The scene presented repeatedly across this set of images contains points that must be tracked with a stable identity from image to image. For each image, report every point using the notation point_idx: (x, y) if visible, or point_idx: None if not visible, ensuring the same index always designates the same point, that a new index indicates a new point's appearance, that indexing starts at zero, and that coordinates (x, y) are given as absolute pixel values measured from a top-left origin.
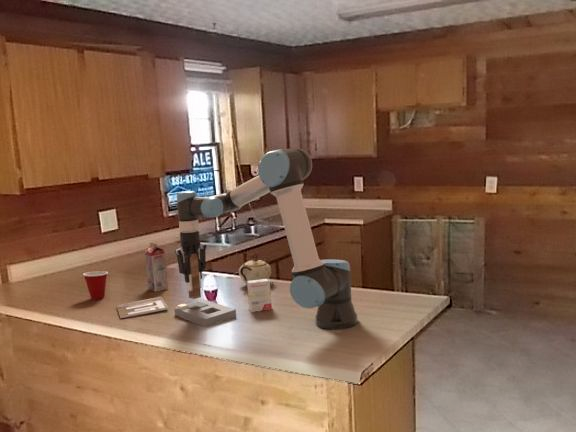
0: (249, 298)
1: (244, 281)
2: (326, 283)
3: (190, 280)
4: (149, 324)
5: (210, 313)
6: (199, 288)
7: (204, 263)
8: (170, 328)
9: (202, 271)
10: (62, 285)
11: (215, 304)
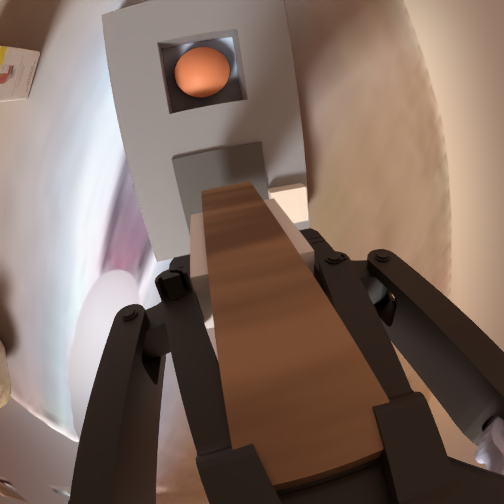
0: (8, 58)
1: (1, 354)
2: None
3: (292, 226)
4: (398, 185)
5: (192, 93)
6: (208, 207)
7: (118, 349)
8: (375, 88)
9: (166, 271)
10: None
11: (138, 148)
